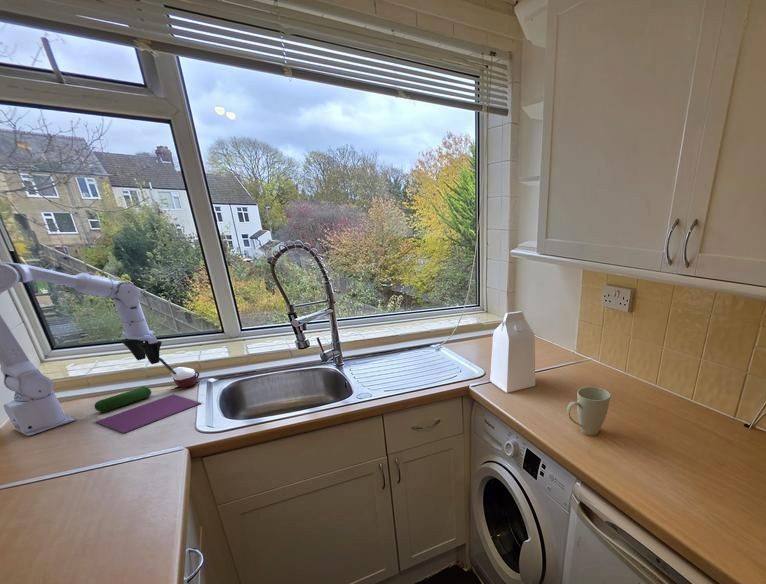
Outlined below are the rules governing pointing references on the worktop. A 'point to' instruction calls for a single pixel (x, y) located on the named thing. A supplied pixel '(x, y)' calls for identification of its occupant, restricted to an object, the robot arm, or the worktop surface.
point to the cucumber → (122, 399)
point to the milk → (513, 354)
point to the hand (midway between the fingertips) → (148, 361)
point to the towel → (147, 413)
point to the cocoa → (182, 375)
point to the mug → (590, 409)
